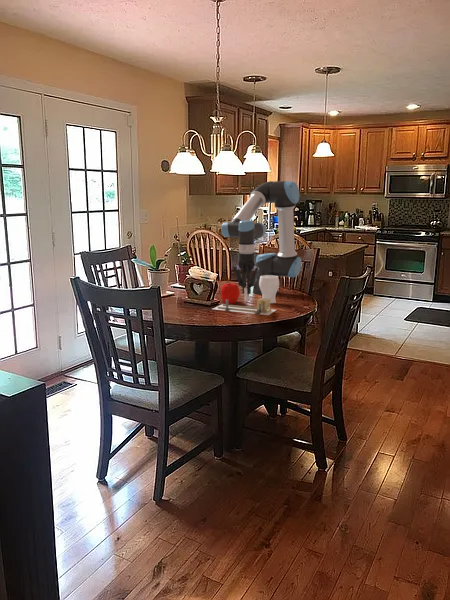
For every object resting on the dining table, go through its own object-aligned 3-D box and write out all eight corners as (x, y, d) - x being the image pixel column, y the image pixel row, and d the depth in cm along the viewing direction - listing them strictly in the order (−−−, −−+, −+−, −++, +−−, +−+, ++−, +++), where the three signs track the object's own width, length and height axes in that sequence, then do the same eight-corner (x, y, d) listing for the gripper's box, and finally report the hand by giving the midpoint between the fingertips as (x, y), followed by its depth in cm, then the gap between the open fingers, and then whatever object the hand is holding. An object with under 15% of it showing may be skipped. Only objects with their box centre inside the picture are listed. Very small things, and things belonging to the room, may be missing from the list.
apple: (234, 302, 273) (234, 280, 271) (242, 306, 264) (243, 283, 262) (217, 304, 269) (217, 281, 267) (225, 308, 260) (225, 284, 258)
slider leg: (260, 309, 249) (260, 298, 248) (270, 310, 247) (270, 298, 246) (254, 313, 242) (254, 301, 241) (264, 314, 240) (264, 302, 239)
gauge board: (221, 307, 262) (221, 294, 261) (276, 312, 250) (277, 299, 249) (211, 312, 251) (211, 298, 250) (268, 318, 239) (268, 304, 238)
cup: (277, 307, 262) (278, 278, 259) (257, 306, 264) (257, 277, 261) (279, 302, 272) (280, 275, 269) (260, 302, 274) (260, 274, 271)
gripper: (231, 253, 243) (231, 300, 249) (256, 254, 238) (256, 303, 244) (237, 251, 250) (237, 297, 256) (261, 252, 245) (261, 299, 250)
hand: (246, 300), depth 250 cm, fingers closed
